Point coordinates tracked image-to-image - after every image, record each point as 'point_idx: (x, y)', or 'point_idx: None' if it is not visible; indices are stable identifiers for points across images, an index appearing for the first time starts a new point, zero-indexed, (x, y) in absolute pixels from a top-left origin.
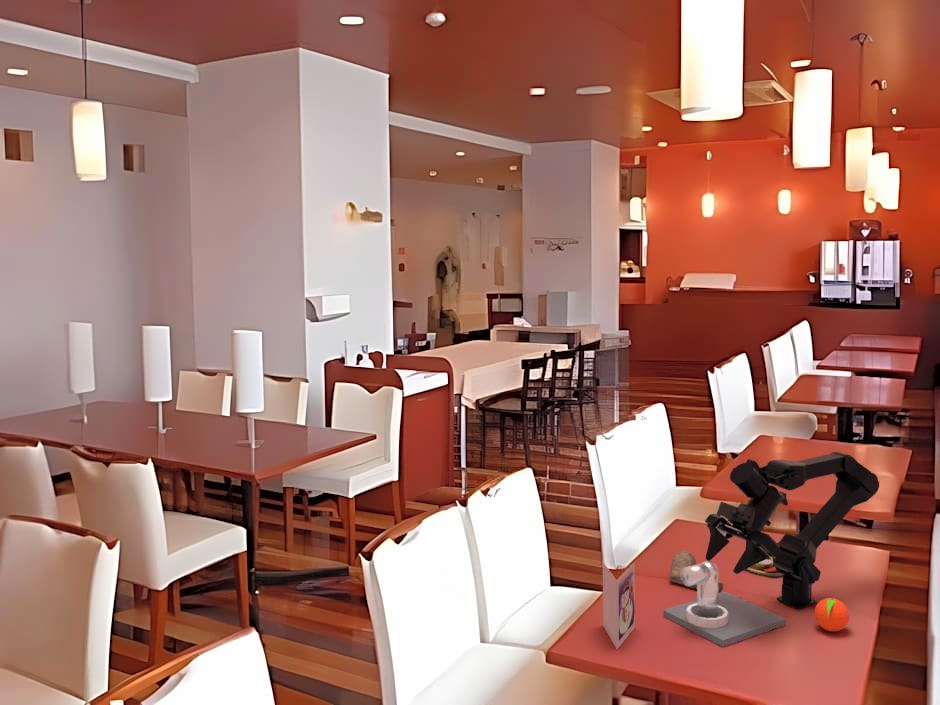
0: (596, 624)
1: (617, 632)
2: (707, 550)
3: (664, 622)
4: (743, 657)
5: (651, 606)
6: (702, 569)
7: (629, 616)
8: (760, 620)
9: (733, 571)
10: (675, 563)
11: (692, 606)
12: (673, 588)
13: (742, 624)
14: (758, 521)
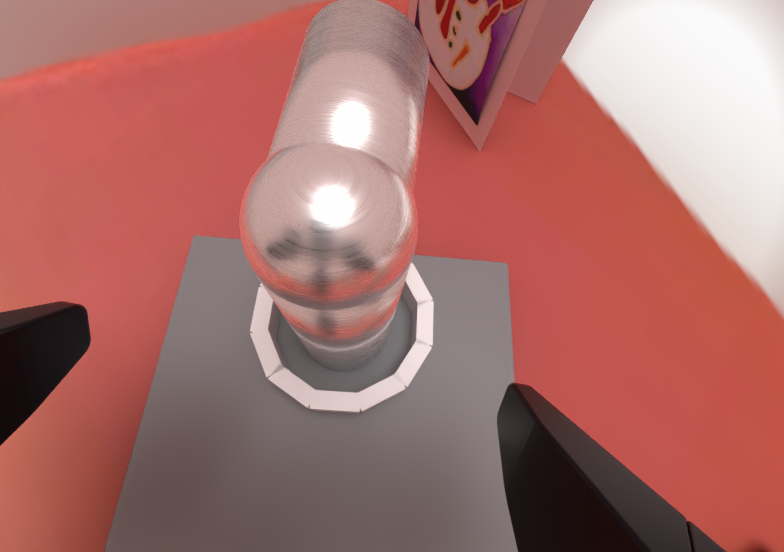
0: (551, 97)
1: (412, 2)
2: (587, 436)
3: (458, 241)
4: (109, 243)
5: (586, 300)
6: (296, 98)
7: (464, 63)
8: (169, 525)
9: (81, 305)
10: None
11: (416, 301)
12: (709, 519)
13: (212, 409)
14: None
